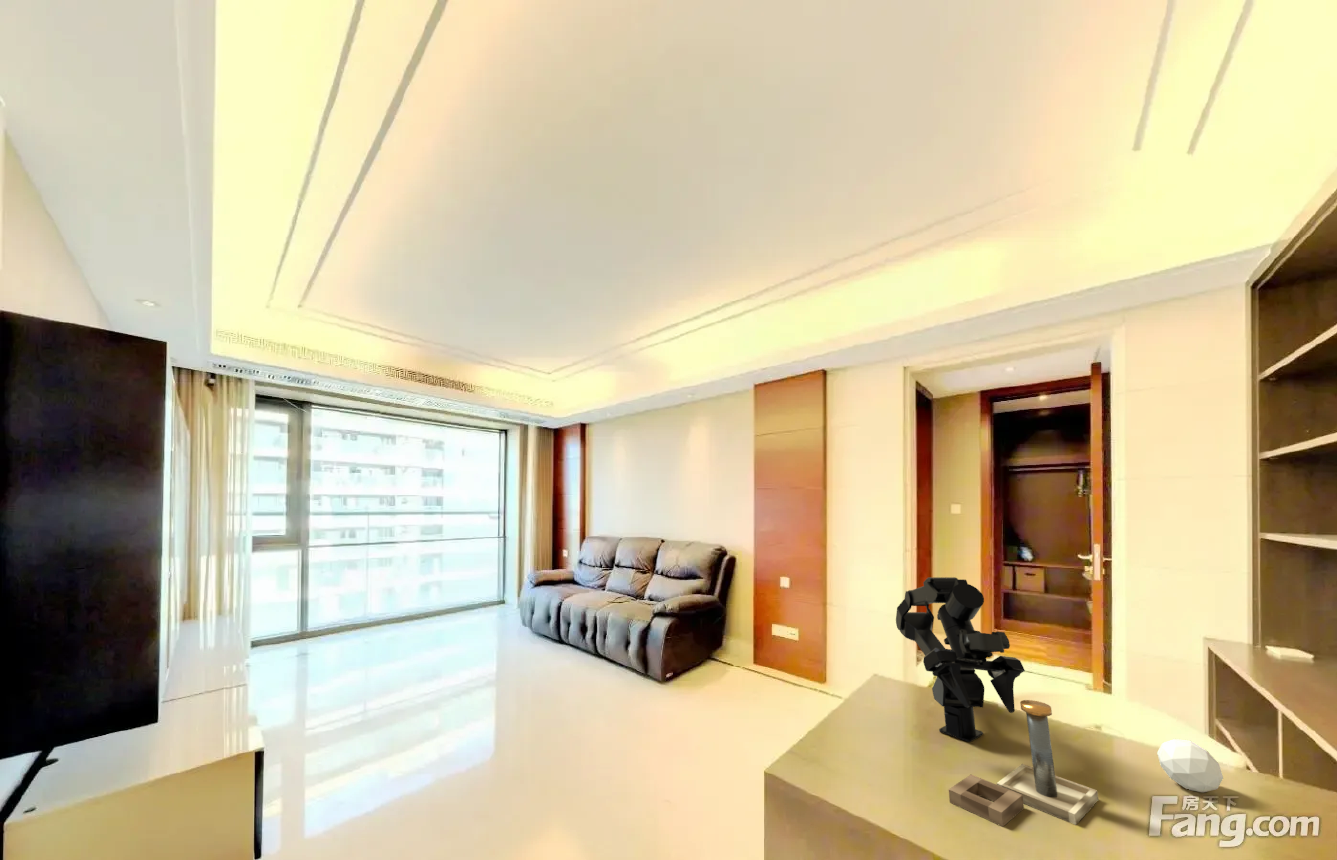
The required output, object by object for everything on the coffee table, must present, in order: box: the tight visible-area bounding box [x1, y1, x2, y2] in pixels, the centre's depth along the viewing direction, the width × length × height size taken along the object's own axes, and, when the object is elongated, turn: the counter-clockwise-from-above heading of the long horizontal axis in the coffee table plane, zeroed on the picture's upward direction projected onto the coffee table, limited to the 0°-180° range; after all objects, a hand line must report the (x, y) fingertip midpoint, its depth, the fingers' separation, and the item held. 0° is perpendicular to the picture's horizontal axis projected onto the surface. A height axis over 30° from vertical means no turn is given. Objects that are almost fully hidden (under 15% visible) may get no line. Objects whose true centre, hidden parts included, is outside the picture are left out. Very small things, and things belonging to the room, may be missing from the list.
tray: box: [996, 763, 1100, 826], centre depth 84 cm, size 11×11×2 cm
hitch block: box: [948, 774, 1025, 827], centre depth 82 cm, size 8×8×2 cm
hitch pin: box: [1019, 699, 1058, 797], centre depth 85 cm, size 4×4×14 cm
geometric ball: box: [1157, 738, 1224, 793], centre depth 86 cm, size 8×8×8 cm
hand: (990, 709), depth 95 cm, fingers open, 9 cm apart
